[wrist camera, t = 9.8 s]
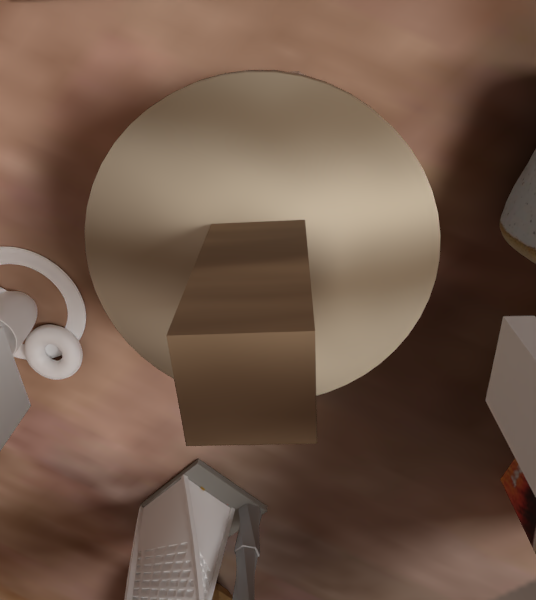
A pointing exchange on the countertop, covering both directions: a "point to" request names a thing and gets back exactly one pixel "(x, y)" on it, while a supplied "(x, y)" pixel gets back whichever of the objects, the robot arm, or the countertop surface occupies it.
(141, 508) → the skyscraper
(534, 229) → the ceramic mug
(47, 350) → the cup and donut ornament
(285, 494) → the countertop surface
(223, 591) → the potato
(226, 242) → the lid
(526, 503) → the pasta box
